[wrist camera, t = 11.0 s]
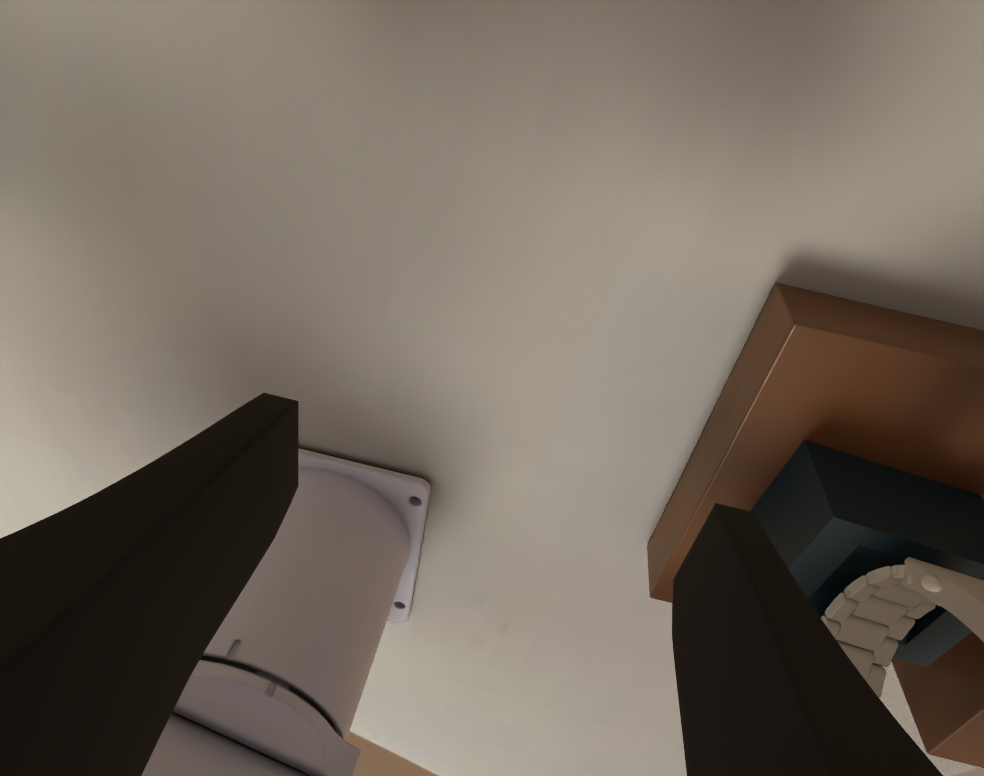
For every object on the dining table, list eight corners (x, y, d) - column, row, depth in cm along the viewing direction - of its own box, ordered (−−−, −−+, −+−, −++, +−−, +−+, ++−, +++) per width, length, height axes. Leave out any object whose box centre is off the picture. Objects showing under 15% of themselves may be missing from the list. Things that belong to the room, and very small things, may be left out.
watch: (707, 568, 22) (768, 983, 13) (838, 393, 18) (1066, 851, 9) (857, 615, 22) (1015, 1055, 14) (1028, 453, 18) (1442, 965, 9)
